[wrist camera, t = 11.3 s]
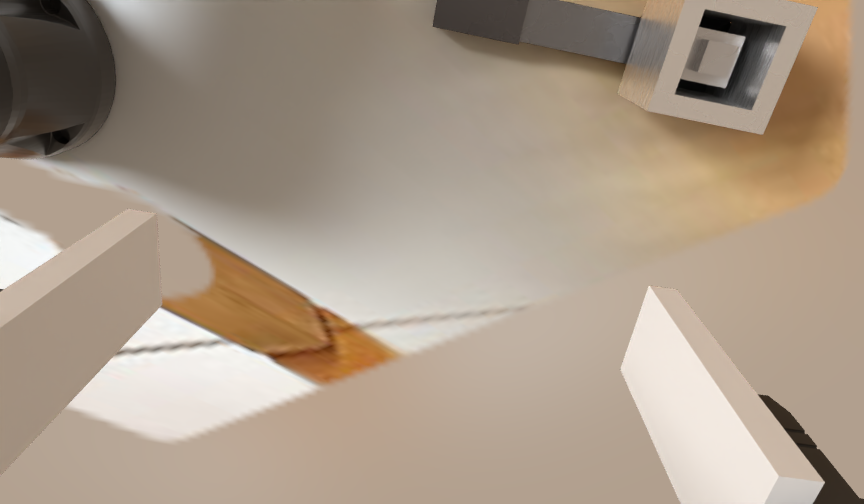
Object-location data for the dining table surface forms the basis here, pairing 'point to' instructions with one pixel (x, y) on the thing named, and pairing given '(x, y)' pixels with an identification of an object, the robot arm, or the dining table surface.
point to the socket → (752, 74)
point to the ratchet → (588, 33)
